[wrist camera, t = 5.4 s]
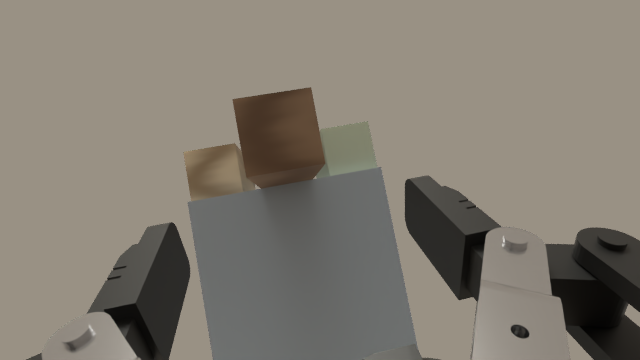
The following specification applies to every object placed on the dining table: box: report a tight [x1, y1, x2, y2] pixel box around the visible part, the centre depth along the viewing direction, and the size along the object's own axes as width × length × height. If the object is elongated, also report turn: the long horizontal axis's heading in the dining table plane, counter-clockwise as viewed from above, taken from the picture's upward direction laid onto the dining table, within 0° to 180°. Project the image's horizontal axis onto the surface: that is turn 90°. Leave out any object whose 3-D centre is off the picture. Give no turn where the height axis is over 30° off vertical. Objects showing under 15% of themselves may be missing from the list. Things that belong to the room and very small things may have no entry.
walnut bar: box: [233, 88, 326, 189], centre depth 28 cm, size 4×22×4 cm, turn 6°
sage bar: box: [316, 121, 377, 178], centre depth 33 cm, size 4×11×4 cm, turn 6°
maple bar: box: [184, 144, 255, 201], centre depth 31 cm, size 4×11×4 cm, turn 6°
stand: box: [188, 167, 418, 360], centre depth 31 cm, size 15×13×32 cm
